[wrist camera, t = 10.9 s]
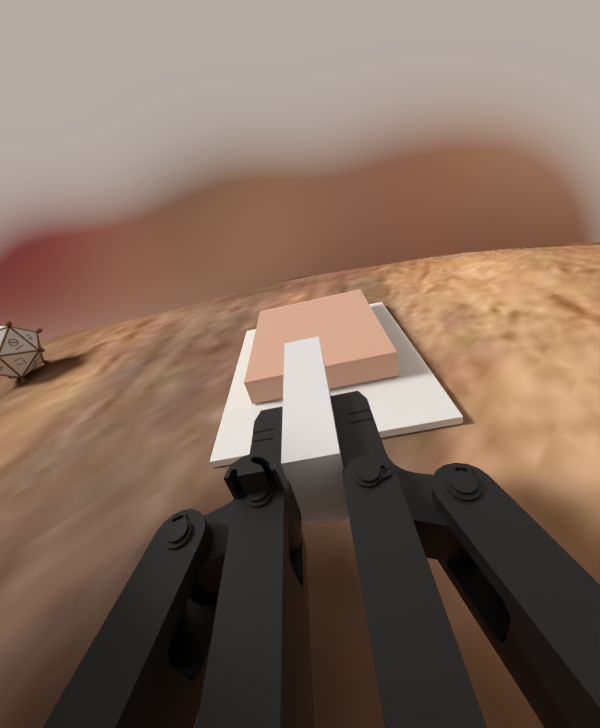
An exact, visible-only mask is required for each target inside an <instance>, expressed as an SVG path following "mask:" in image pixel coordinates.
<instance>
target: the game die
mask: <svg viewBox="0 0 600 728" xmlns="http://www.w3.org/2000/svg"><path fill="white" fill-rule="evenodd" d="M6 324H7V326H3V325H0V375H1V376H7V377H9V378H12V377H18V378H20V380H21V382H23V383H24V382H25V378H24V376H25V375H26V374H28V373H29V372H30V371H32V370H33V369H34V368H36V367H37V366H38V365H40V364H41V363H42V362H43V363H44V364H49V361H46V360H44V358H43V354H42V352H44V351H45V350H44V349H43V348H42V349H41V345H40V341H39V336H38V333H40V332H42V329H38V330H37V331H36V332H35V331H30V330H26V329H21V328H16V327H12V326H11V325H12V323H11V322H10V321H8V322H7V323H6Z"/></svg>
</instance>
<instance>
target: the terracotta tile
mask: <svg viewBox="0 0 600 728" xmlns="http://www.w3.org/2000/svg"><path fill="white" fill-rule="evenodd" d="M317 336H319V340H320V345H321V349H322V354H323V359H324V363H325V368H326V373H327V377H328V382H329V387H330V389H332V388H337V387H343V386H348V385H353V384H358V383H363V382H368V381H373V380H379V379H384V378H389V377H394V376H399V372H398V358H397V351H396V349H395V347H394V346H393V344H392V342H391V341H390V339H389V337H388V336H387V334H386V332H385V331H384V329H383V327H382V326H381V324H380V322H379V321H378V319H377V317H376V316H375V314H374V312H373V310H372V309H371V307H370V305H369V304H368V302H367V300H366V299H365V297H364V295H363V294H362V292H361V290H360V289H358V290H354V291H349V292H345V293H340V294H336V295H331V296H327V297H322V298H318V299H313V300H309V301H304V302H300V303H296V304H291V305H287V306H282V307H278V308H273V309H269V310H264V311H260V314H259V319H258V323H257V327H256V332H255V336H254V340H253V345H252V349H251V353H250V358H249V362H248V367H247V371H246V375H245V380H244V384H245V387H246V390H247V392H248V395H249V397H250V400H251V402H252V404H255V403H260V402H265V401H270V400H276V399H281V398H283V380H284V346H285V343H289V342H294V341H298V340H303V339H308V338H313V337H317Z"/></svg>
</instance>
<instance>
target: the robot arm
mask: <svg viewBox="0 0 600 728" xmlns="http://www.w3.org/2000/svg"><path fill="white" fill-rule="evenodd" d="M251 442H252V444H251V448H250V454H249V455H246V456H243V457H241V458H240V459H238V460H237V461H235V462H234V463H233V464H232V465H231V466H230V467H229V469H228V470H227V472H226V474H225V476H224V480H225V482H226V484H227V486H228V488H229V490H230V491H231V493H232V495H233V497H234V499H233V500H232V501H231V502H230V503H228V504H227V505H225V506H223V507H221V508H219V509H217V510H215V511H213V512H211V513H209V514H207V515H205V516H203V515H202V514H201V513H200V512H199V511H196V510H193V509H189V510H183V511H180V512H178V513H176V514H174V515H172V516H171V517H170V518H169V519H168V520H166V521H165V522H164V523H163V524H162V526H161V527H160V528H159V530H158V531H157V532H156V534H155V536H154V538H153V539H152V541H151V543H150V544H149V546H148V548H147V550H146V551H145V553H144V555H143V557H142V558H141V560H140V562H139V563H138V565H137V567H136V569H135V570H134V572H133V574H132V575H131V577H130V579H129V581H128V582H127V584H126V586H125V587H124V589H123V591H122V593H121V594H120V596H119V598H118V600H117V601H116V603H115V605H114V606H113V608H112V610H111V612H110V613H109V615H108V617H107V618H106V620H105V622H104V624H103V625H102V627H101V629H100V630H99V632H98V634H97V636H96V637H95V639H94V641H93V642H92V644H91V646H90V648H89V649H88V651H87V653H86V655H85V656H84V658H83V660H82V661H81V663H80V665H79V667H78V668H77V670H76V672H75V673H74V675H73V677H72V679H71V680H70V682H69V684H68V685H67V687H66V689H65V691H64V692H63V694H62V696H61V698H60V699H59V701H58V703H57V704H56V706H55V708H54V710H53V711H52V713H51V715H50V716H49V718H48V720H47V722H46V723H45V725H44V727H43V728H193V727H194V723H195V720H196V717H197V714H198V711H199V715H198V721H197V727H196V728H314V721H313V699H312V677H311V656H310V634H309V612H308V590H307V568H306V547H305V542H304V538H303V535H302V532H301V519H302V521H303V524H304V525H311V524H317V523H323V522H329V521H336V520H342V519H348V518H350V523H351V529H352V535H353V541H354V547H355V552H356V558H357V564H358V570H359V576H360V581H361V587H362V593H363V599H364V605H365V611H366V616H367V622H368V628H369V634H370V640H371V645H372V651H373V657H374V663H375V669H376V674H377V680H378V686H379V692H380V698H381V703H382V709H383V715H384V721H385V727H386V728H487V727H486V724H485V721H484V719H483V716H482V713H481V710H480V707H479V704H478V702H477V699H476V696H475V693H474V690H473V688H472V685H471V682H470V679H469V676H468V673H467V671H466V668H465V665H464V662H463V659H462V657H461V654H460V651H459V648H458V645H457V643H456V640H455V637H454V634H453V631H452V628H451V626H450V623H449V620H448V617H447V614H446V612H445V609H444V606H443V603H442V600H441V597H440V595H439V592H438V589H437V586H436V583H435V581H434V578H433V575H432V572H431V569H430V566H429V564H428V561H427V558H432V559H437V560H438V561H439V563H440V565H441V566H442V568H443V569H444V571H445V572H446V574H447V576H448V577H449V579H450V580H451V582H452V583H453V585H454V586H455V588H456V590H457V591H458V593H459V594H460V596H461V597H462V599H463V601H464V602H465V604H466V605H467V607H468V608H469V610H470V611H471V613H472V615H473V616H474V618H475V619H476V621H477V622H478V624H479V626H480V627H481V629H482V630H483V632H484V633H485V635H486V637H487V638H488V640H489V641H490V643H491V644H492V646H493V647H494V649H495V651H496V652H497V654H498V655H499V657H500V658H501V660H502V662H503V663H504V665H505V666H506V668H507V669H508V671H509V672H510V674H511V676H512V677H513V679H514V680H515V682H516V683H517V685H518V687H519V688H520V690H521V691H522V693H523V694H524V696H525V698H526V699H527V701H528V702H529V704H530V705H531V707H532V708H533V710H534V712H535V713H536V715H537V716H538V718H539V719H540V721H541V723H542V724H543V726H544V727H545V728H600V585H599V584H598V583H597V582H596V581H595V580H594V579H593V578H592V577H591V576H590V575H589V574H588V573H587V572H586V571H585V570H584V569H583V568H582V567H581V566H580V565H579V564H578V563H577V562H576V561H575V560H574V559H573V558H572V557H571V556H570V555H569V554H568V553H567V552H566V551H565V550H564V549H563V548H562V547H561V546H560V545H559V544H558V543H557V542H556V541H555V540H554V539H553V538H552V537H551V536H550V535H549V534H548V533H547V532H546V531H545V530H544V529H543V528H542V527H541V526H539V525H538V524H537V523H536V522H535V521H534V520H533V519H532V518H531V517H530V516H529V515H528V514H527V513H526V512H525V511H524V510H523V509H522V508H521V507H520V506H519V505H518V504H517V503H516V502H515V501H514V500H513V499H512V498H511V497H510V496H509V495H508V494H507V493H506V492H505V491H504V490H503V489H502V488H501V487H500V486H499V485H498V484H497V483H496V482H495V481H494V480H493V479H492V478H491V477H490V476H488V475H487V474H486V473H484V472H483V471H482V470H480V469H479V468H476V467H473V466H471V465H468V464H461V463H452V464H447V465H444V466H442V467H441V468H439V469H438V470H436V472H435V474H434V475H430V474H421V473H414V472H409V471H406V470H404V469H401V468H399V467H398V466H396V465H395V464H393V462H392V461H391V460H390V459H389V458H388V456H387V454H386V452H385V449H384V446H383V443H382V440H381V437H380V434H379V432H378V429H377V426H376V423H375V420H374V417H373V414H372V411H371V409H370V406H369V403H368V400H367V398H366V397H365V396H364V395H362V394H361V393H360V392H359V391H353V392H348V393H343V394H338V395H333V396H331V392H330V387H329V382H328V377H327V373H326V368H325V363H324V359H323V354H322V349H321V345H320V340H319V336H317V337H313V338H308V339H303V340H298V341H294V342H289V343H285V346H284V380H283V406H282V407H277V408H271V409H266V410H261V412H260V413H259V415H258V416H257V418H256V419H255V421H254V427H253V435H252V441H251ZM426 557H427V558H426ZM199 708H200V709H199Z"/></svg>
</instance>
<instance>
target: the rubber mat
mask: <svg viewBox="0 0 600 728" xmlns="http://www.w3.org/2000/svg"><path fill="white" fill-rule="evenodd" d="M370 307H371V309H372V310H373V312H374V314H375V316H376V317H377V319H378V321H379V322H380V324H381V326H382V327H383V329H384V331H385V332H386V334H387V336H388V337H389V339H390V341H391V342H392V344H393V346H394V347H395V349H396V351H397V358H398V372H399V376H394V377H389V378H384V379H379V380H373V381H368V382H363V383H358V384H353V385H348V386H343V387H337V388H332V389H330V392H331V396H333V395H338V394H343V393H348V392H353V391H359V392H360V393H361V394H362V395H364V396H365V397H366V398H367V400H368V403H369V406H370V409H371V411H372V414H373V417H374V420H375V423H376V426H377V429H378V432H379V434H380V437H381V438H384V437H389V436H395V435H401V434H406V433H412V432H417V431H423V430H429V429H434V428H440V427H446V426H451V425H457V424H463V416H462V414H461V413H460V411H459V410H458V409H457V407H456V406H455V404H454V403H453V402H452V400H451V399H450V397H449V396H448V395H447V393H446V392H445V390H444V389H443V387H442V386H441V385H440V383H439V382H438V380H437V379H436V378H435V376H434V375H433V373H432V372H431V371H430V369H429V368H428V366H427V365H426V364H425V362H424V361H423V359H422V358H421V356H420V355H419V354H418V352H417V351H416V349H415V348H414V347H413V345H412V344H411V342H410V341H409V340H408V338H407V337H406V335H405V334H404V332H403V331H402V330H401V328H400V327H399V325H398V324H397V323H396V321H395V320H394V318H393V317H392V316H391V314H390V313H389V311H388V310H387V308H386V307H385V306H384V304H383V303H382V302H379V303H374V304H370ZM255 332H256V329H255V330H250V331H247V332H246V336H245V340H244V343H243V347H242V350H241V354H240V357H239V361H238V364H237V368H236V371H235V375H234V378H233V382H232V385H231V389H230V392H229V396H228V399H227V403H226V406H225V410H224V413H223V417H222V420H221V424H220V427H219V431H218V434H217V438H216V441H215V445H214V448H213V452H212V455H211V459H210V463H211V465H212V467H213V468H214V467H219V466H225V465H231V464H233V463H234V462H235V461H237V460H238V459H240V458H241V457H243V456H246V455H249V454H250V448H251V444H252V442H251V441H252V435H253V427H254V421H255V419H256V418H257V416H258V415H259V413H260V412H261V410H266V409H271V408H277V407H282V406H283V398H281V399H276V400H270V401H265V402H260V403H255V404H252V402H251V400H250V397H249V395H248V392H247V390H246V387H245V384H244V380H245V375H246V371H247V367H248V362H249V358H250V353H251V349H252V345H253V340H254V336H255Z"/></svg>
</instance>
